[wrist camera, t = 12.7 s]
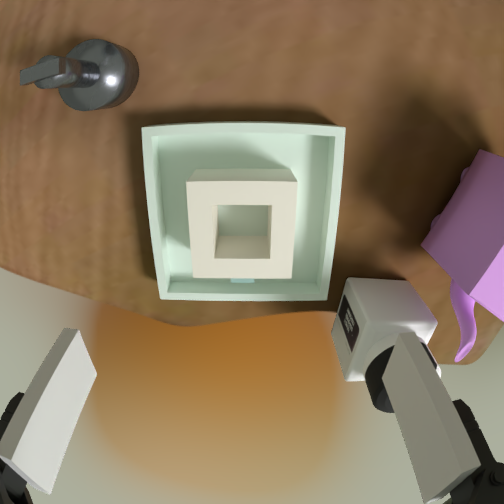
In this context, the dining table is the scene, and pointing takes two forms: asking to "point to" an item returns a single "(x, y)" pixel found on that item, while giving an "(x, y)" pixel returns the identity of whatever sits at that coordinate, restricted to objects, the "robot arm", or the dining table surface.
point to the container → (378, 330)
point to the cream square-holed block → (242, 247)
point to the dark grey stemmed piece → (87, 75)
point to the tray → (244, 216)
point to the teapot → (473, 243)
